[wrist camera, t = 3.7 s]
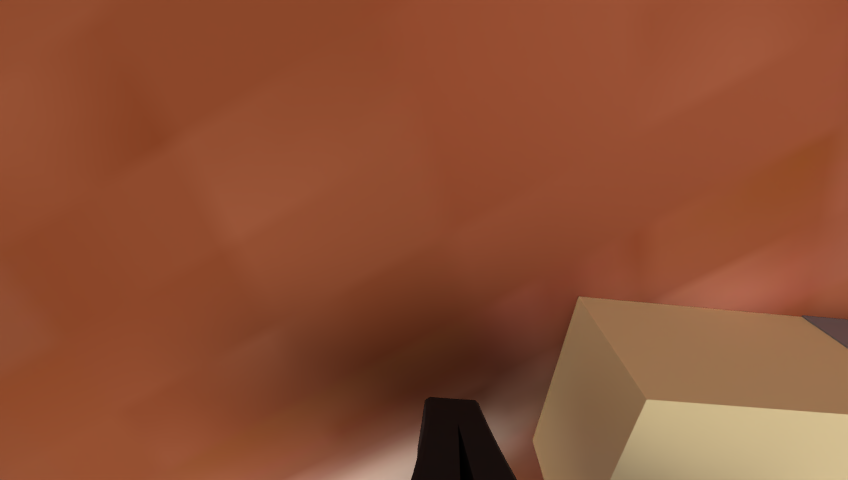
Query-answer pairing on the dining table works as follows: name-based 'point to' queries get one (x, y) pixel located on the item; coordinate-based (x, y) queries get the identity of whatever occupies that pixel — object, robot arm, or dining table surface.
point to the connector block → (695, 396)
